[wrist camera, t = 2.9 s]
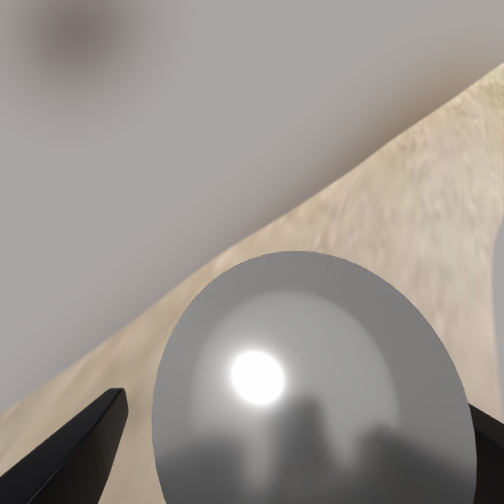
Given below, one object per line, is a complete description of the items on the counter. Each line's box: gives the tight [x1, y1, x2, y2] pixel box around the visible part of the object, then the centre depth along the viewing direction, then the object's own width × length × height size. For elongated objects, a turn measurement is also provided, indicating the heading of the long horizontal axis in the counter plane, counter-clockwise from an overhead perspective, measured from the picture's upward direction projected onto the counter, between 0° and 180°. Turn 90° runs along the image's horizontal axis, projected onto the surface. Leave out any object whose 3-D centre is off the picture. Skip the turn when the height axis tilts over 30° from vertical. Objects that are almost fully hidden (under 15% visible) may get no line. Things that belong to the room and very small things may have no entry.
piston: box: [152, 251, 477, 504], centre depth 9 cm, size 5×5×13 cm
